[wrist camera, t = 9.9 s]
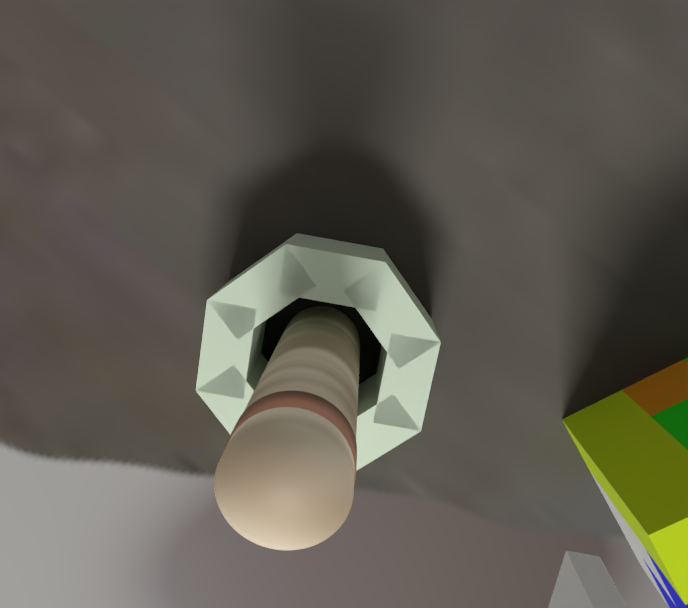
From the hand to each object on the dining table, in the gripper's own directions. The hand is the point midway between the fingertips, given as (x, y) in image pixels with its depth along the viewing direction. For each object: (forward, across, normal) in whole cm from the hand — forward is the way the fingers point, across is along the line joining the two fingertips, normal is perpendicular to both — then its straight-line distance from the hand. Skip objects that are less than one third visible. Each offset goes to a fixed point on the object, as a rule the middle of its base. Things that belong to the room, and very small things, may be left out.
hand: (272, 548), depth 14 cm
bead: (+17, 0, -1) cm, 17 cm away
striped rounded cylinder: (+17, 0, -1) cm, 17 cm away
